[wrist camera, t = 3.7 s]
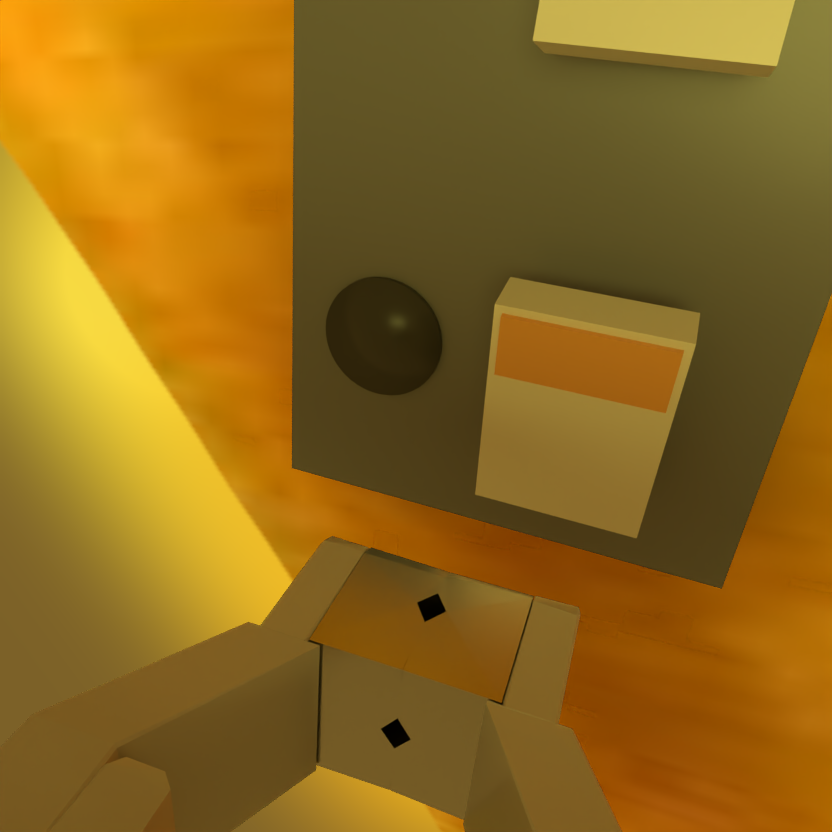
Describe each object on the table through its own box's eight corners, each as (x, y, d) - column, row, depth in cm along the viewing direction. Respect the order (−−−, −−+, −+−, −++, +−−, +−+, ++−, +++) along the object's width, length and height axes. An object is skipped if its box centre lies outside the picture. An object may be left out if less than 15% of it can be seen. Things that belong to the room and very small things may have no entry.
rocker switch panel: (721, 530, 24) (721, 606, 21) (330, 428, 28) (280, 479, 25) (1061, -431, 14) (1168, -575, 10) (358, -394, 17) (276, -492, 14)
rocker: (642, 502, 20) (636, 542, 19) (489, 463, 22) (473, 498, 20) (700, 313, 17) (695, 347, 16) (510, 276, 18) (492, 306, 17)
